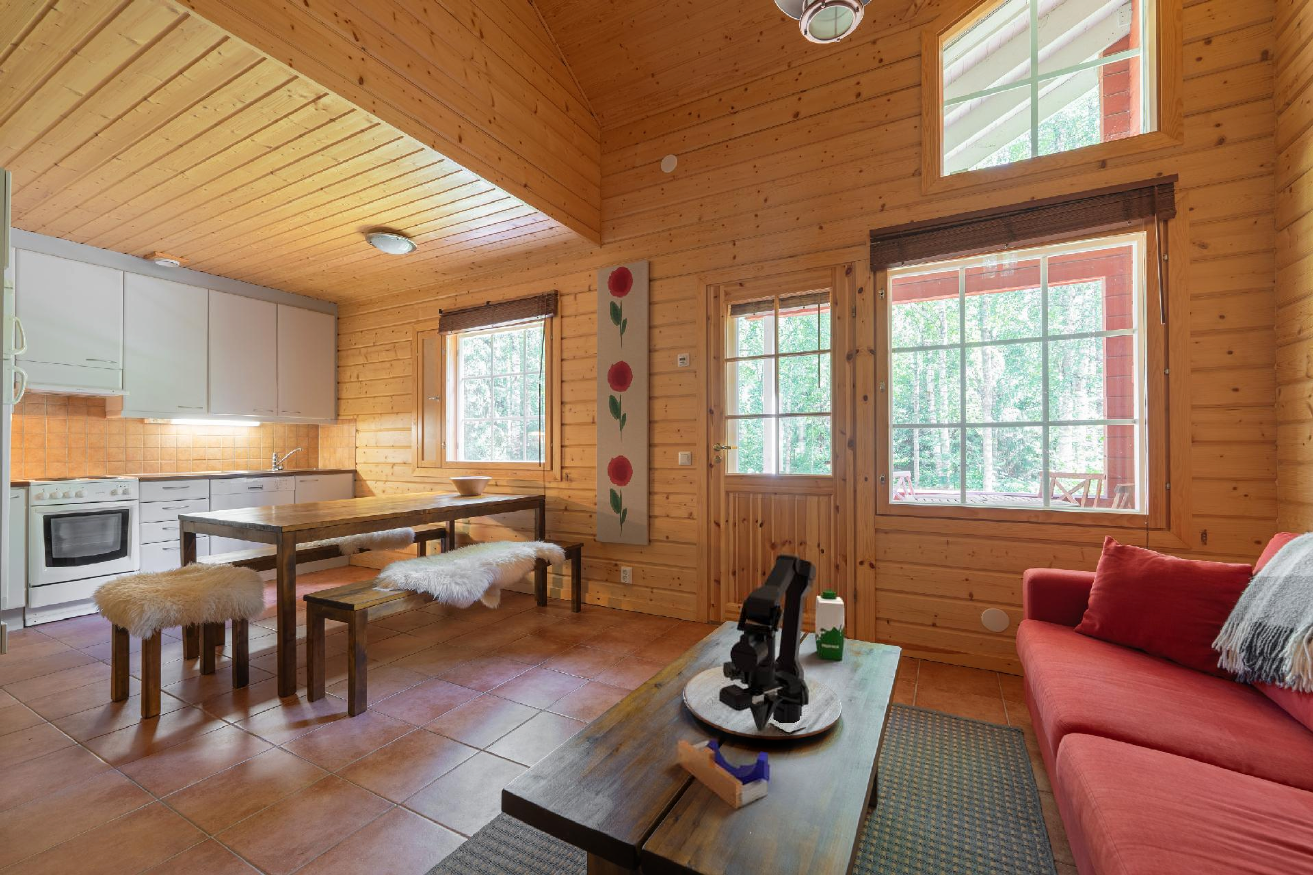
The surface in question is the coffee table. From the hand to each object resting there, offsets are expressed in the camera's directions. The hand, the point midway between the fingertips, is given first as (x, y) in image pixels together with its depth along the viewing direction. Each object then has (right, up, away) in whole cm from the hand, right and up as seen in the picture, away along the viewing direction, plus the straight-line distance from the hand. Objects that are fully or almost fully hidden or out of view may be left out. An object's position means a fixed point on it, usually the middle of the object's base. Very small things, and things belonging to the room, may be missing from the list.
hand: (760, 730), depth 120 cm
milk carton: (+34, -9, +63) cm, 72 cm away
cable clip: (-6, -7, -5) cm, 10 cm away
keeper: (-9, -6, -6) cm, 13 cm away
